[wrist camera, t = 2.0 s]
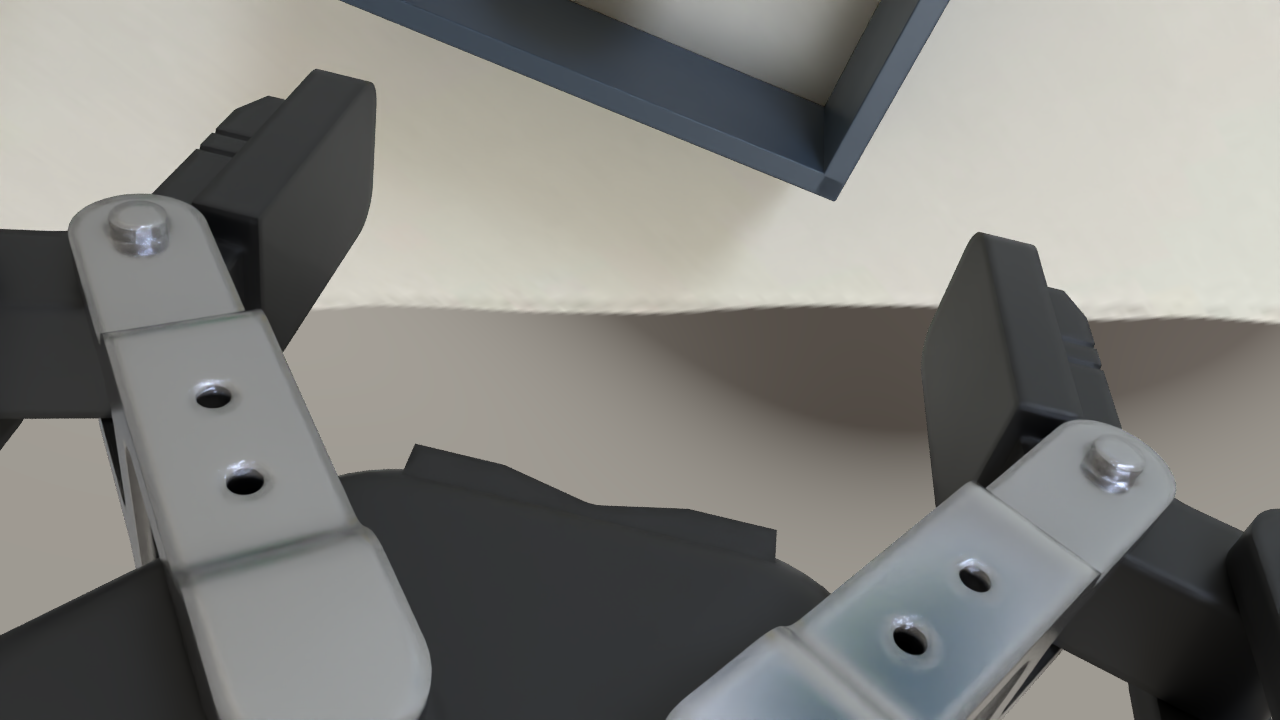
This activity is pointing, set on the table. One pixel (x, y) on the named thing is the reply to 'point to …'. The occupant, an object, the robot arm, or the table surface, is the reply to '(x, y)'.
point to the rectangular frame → (689, 79)
